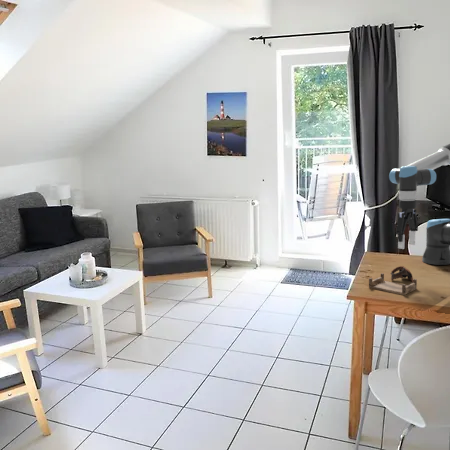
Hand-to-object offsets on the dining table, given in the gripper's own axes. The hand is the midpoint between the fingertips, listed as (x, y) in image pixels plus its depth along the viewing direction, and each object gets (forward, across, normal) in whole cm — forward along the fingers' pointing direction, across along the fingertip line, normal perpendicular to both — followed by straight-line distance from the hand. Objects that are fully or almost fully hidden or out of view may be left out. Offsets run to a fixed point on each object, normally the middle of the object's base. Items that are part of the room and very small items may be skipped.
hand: (406, 246), depth 229 cm
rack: (+17, +13, 0) cm, 22 cm away
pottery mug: (+18, -2, -1) cm, 19 cm away
